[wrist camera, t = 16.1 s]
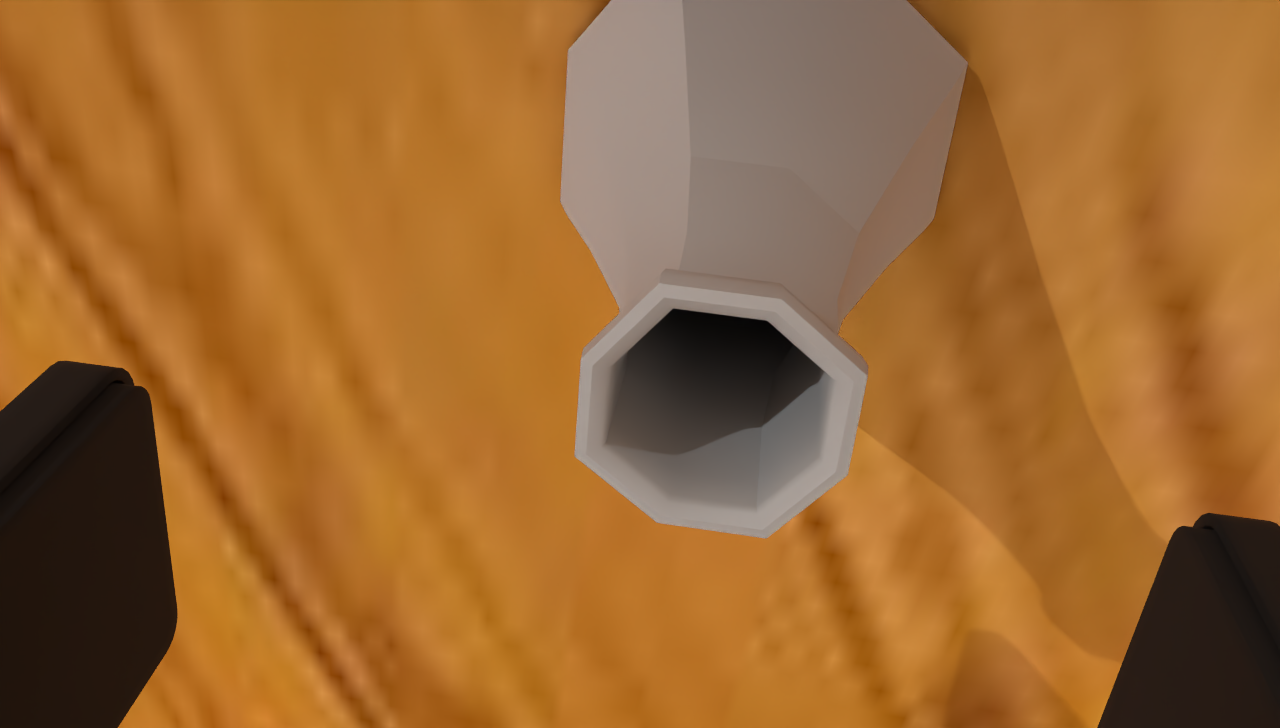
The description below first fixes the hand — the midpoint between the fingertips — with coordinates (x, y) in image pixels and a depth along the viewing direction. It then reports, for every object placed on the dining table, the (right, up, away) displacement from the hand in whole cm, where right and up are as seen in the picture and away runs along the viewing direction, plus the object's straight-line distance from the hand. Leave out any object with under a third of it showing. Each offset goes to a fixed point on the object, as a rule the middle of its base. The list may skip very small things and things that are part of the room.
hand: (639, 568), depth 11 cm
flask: (+2, +6, +11) cm, 13 cm away
